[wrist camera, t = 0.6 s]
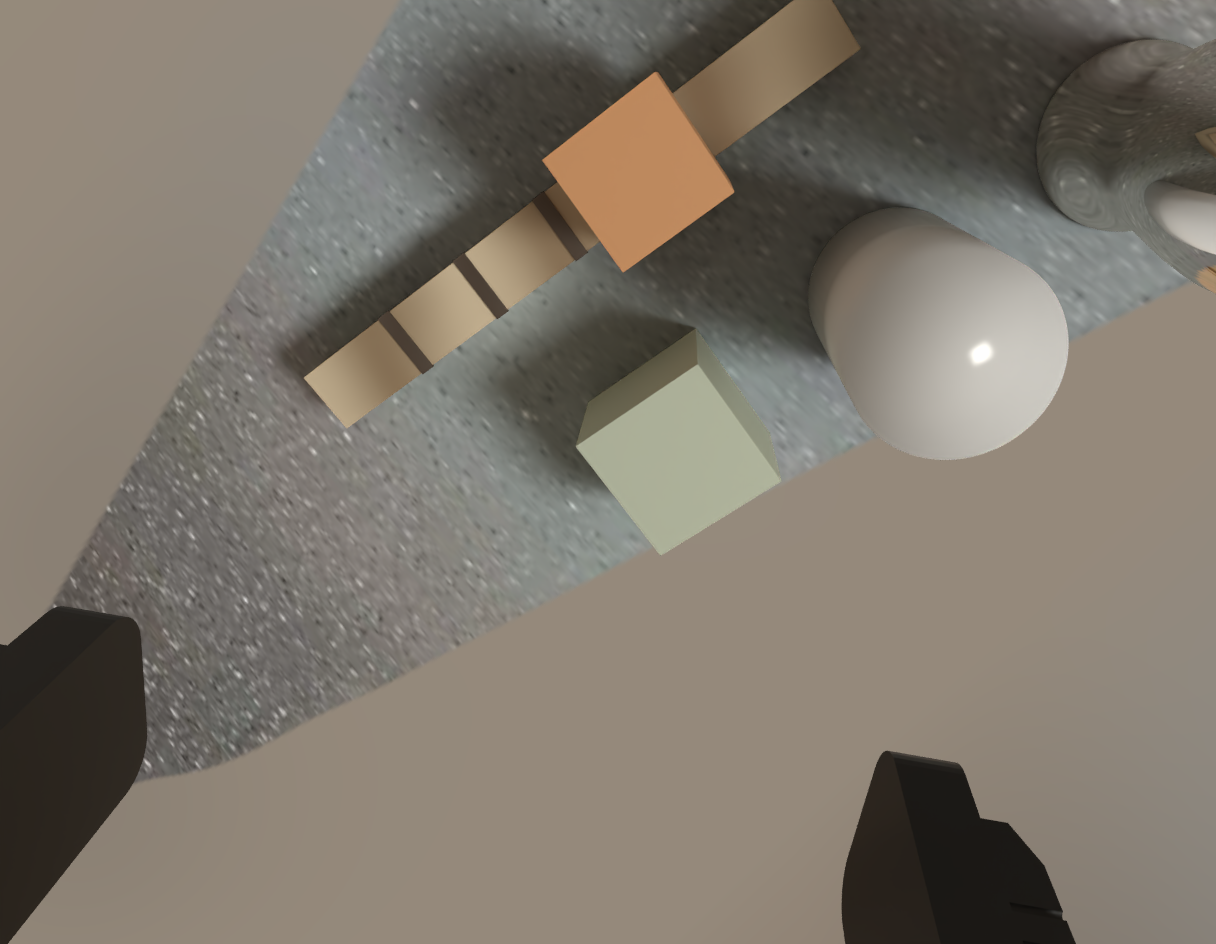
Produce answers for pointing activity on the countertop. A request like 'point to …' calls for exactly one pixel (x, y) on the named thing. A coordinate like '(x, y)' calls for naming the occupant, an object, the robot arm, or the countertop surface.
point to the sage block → (678, 443)
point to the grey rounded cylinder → (936, 333)
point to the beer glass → (1139, 149)
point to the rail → (574, 215)
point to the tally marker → (639, 172)
